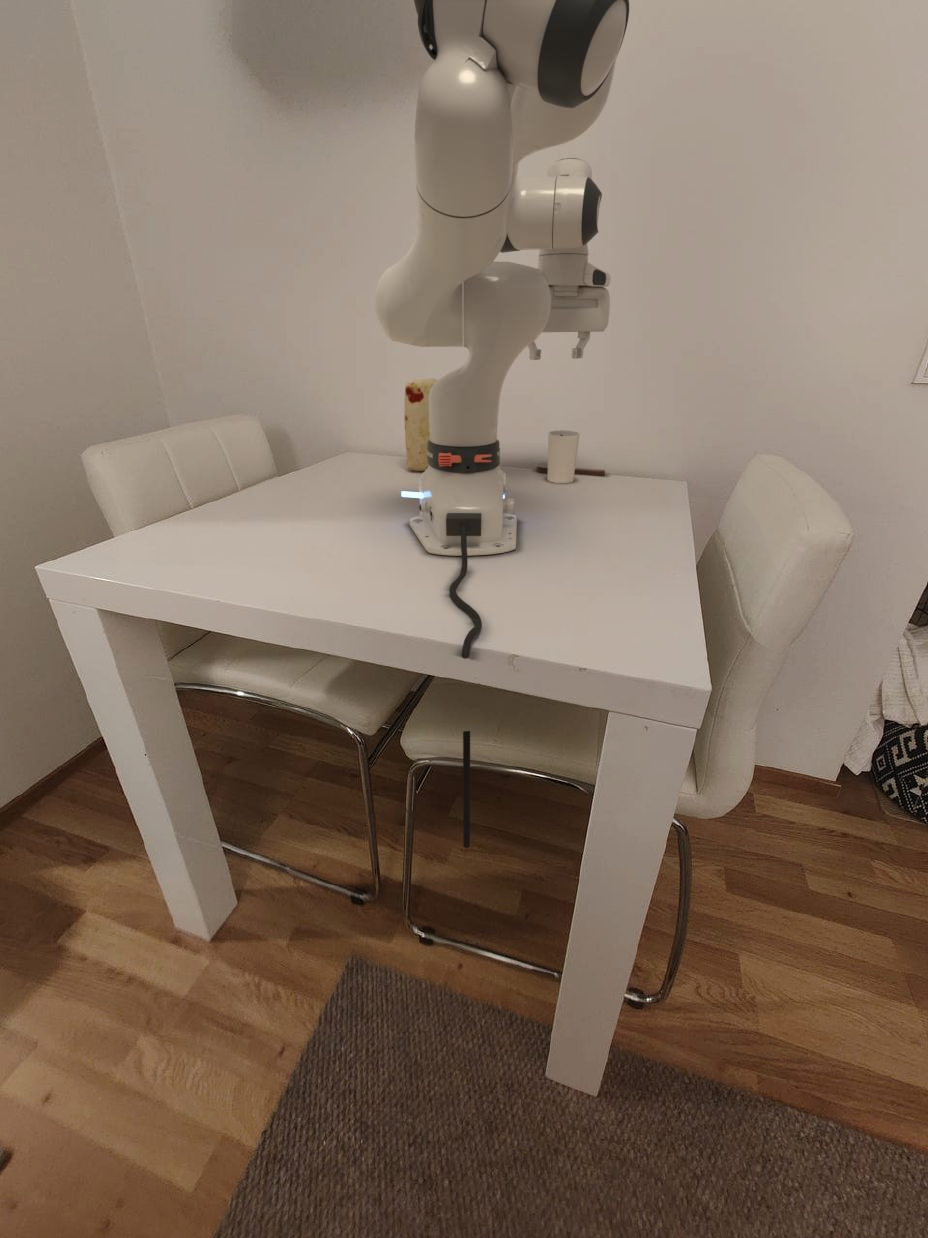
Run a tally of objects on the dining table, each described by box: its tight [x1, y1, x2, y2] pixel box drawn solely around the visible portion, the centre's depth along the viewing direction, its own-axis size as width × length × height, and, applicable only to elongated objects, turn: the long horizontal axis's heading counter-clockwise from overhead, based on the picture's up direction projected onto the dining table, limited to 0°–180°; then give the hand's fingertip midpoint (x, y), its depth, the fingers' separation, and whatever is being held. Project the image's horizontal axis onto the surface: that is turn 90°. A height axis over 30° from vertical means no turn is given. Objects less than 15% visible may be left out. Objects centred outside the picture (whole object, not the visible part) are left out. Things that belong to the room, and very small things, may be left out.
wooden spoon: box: [536, 463, 606, 477], centre depth 131 cm, size 16×4×1 cm, turn 72°
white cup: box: [547, 429, 581, 484], centre depth 124 cm, size 7×7×10 cm
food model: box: [404, 378, 438, 472], centre depth 130 cm, size 10×7×20 cm
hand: (556, 358), depth 109 cm, fingers open, 8 cm apart
